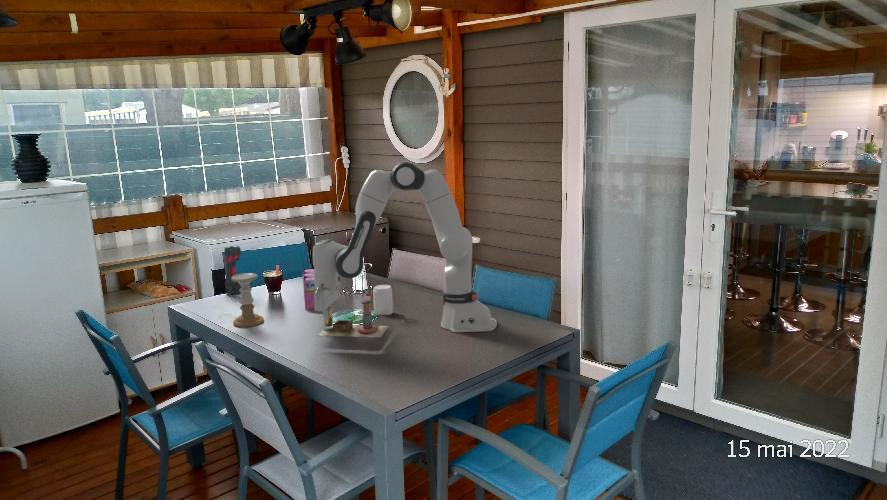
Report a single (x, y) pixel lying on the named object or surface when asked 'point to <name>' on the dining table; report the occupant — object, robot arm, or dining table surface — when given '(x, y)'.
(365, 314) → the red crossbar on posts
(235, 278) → the candle holder
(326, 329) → the slate pad
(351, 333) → the board
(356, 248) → the robot arm
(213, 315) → the dining table surface
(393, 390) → the dining table surface
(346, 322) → the brown box
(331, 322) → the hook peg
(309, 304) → the gum box
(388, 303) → the white tapered cylinder
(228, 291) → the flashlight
